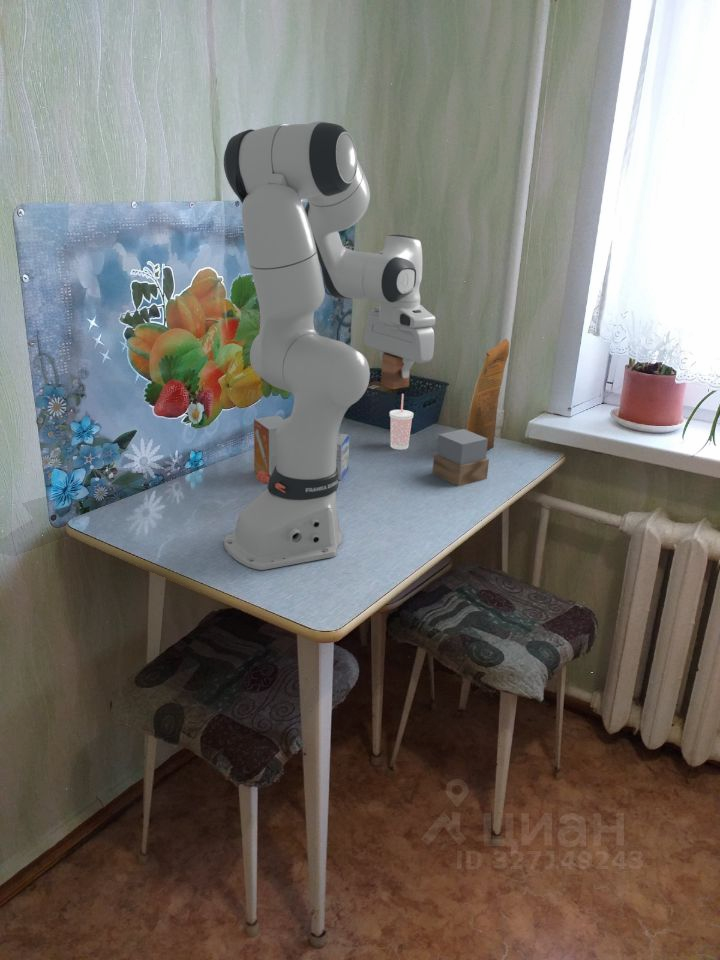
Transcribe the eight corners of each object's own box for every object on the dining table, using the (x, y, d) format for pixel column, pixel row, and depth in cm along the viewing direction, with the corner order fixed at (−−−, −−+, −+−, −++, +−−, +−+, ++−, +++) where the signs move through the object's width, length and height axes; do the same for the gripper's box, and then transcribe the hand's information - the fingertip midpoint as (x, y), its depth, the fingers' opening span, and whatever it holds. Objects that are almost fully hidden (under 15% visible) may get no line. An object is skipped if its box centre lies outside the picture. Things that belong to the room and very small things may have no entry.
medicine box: (341, 481, 172) (342, 445, 169) (321, 478, 173) (322, 443, 170) (348, 469, 179) (349, 434, 176) (330, 466, 180) (331, 432, 177)
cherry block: (393, 389, 169) (395, 358, 167) (380, 384, 173) (382, 354, 170) (408, 386, 172) (410, 356, 169) (396, 381, 175) (398, 351, 173)
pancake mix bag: (506, 444, 201) (519, 338, 190) (475, 464, 186) (487, 351, 175) (483, 438, 204) (494, 334, 194) (451, 458, 189) (461, 346, 179)
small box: (253, 472, 175) (253, 418, 170) (278, 468, 178) (278, 415, 173) (268, 484, 168) (268, 428, 164) (294, 480, 172) (294, 425, 167)
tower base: (458, 487, 172) (460, 466, 171) (432, 474, 179) (434, 454, 177) (486, 479, 178) (488, 459, 176) (460, 467, 184) (462, 447, 182)
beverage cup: (385, 442, 198) (388, 390, 192) (408, 442, 199) (411, 390, 194) (390, 450, 192) (393, 397, 187) (413, 450, 193) (417, 397, 188)
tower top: (460, 465, 171) (462, 444, 169) (436, 454, 177) (438, 434, 175) (485, 459, 176) (488, 438, 174) (461, 448, 182) (463, 429, 180)
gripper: (359, 305, 172) (356, 365, 177) (418, 321, 157) (414, 386, 162) (380, 304, 175) (377, 362, 181) (441, 319, 160) (435, 382, 166)
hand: (395, 374), depth 171 cm, fingers closed on cherry block, 4 cm apart
